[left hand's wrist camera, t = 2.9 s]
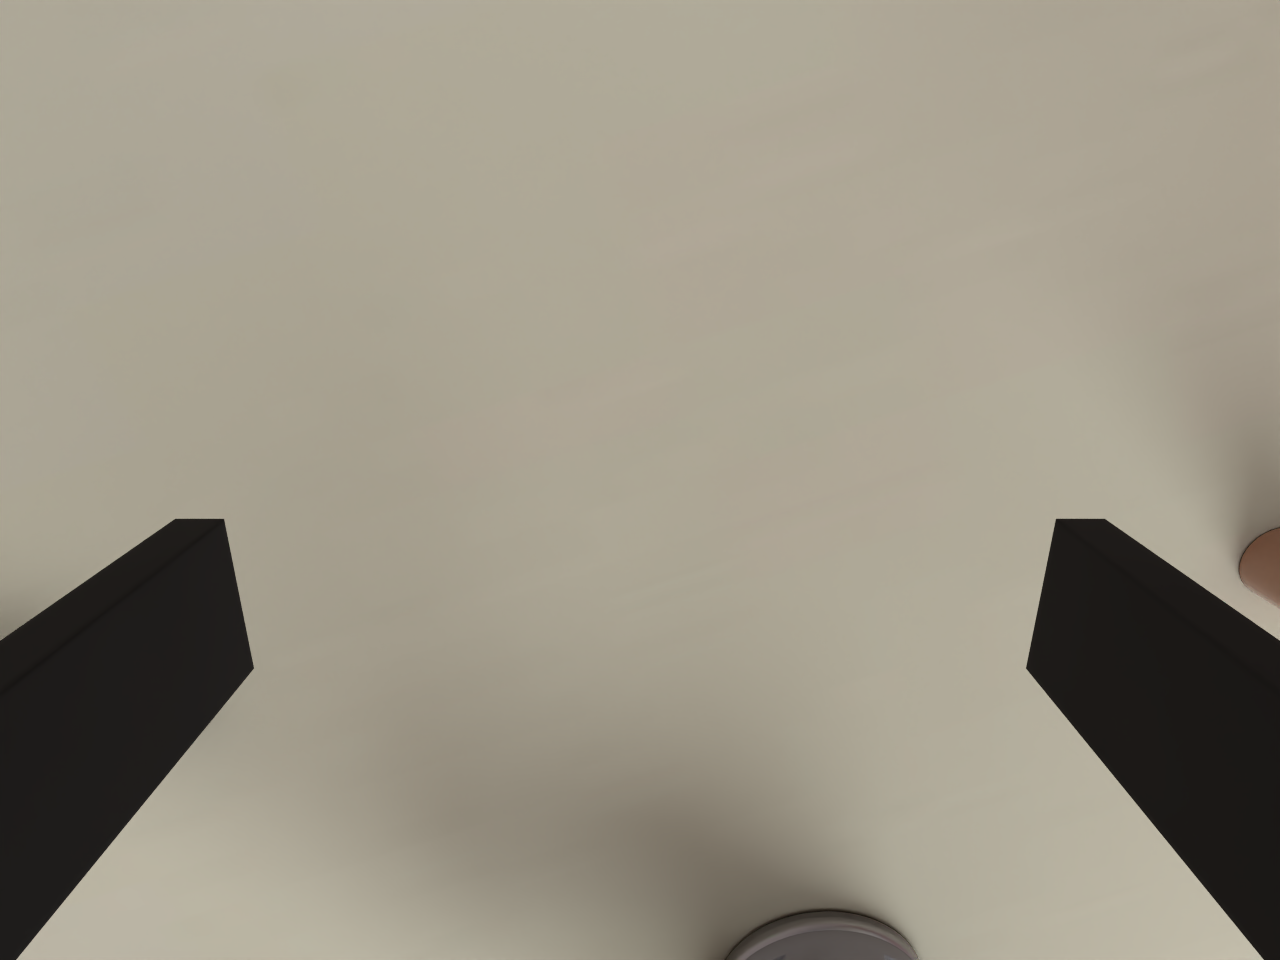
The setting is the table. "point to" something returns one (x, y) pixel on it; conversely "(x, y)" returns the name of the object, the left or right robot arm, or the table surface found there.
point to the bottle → (1263, 567)
